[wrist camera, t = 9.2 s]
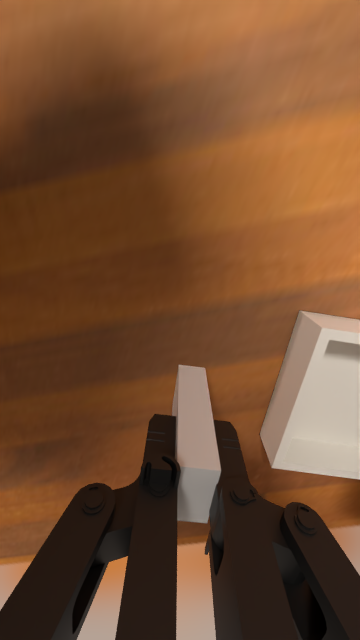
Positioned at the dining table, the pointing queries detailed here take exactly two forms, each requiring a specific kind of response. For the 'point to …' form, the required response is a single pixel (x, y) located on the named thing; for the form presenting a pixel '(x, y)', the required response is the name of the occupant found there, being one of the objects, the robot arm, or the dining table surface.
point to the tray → (317, 399)
